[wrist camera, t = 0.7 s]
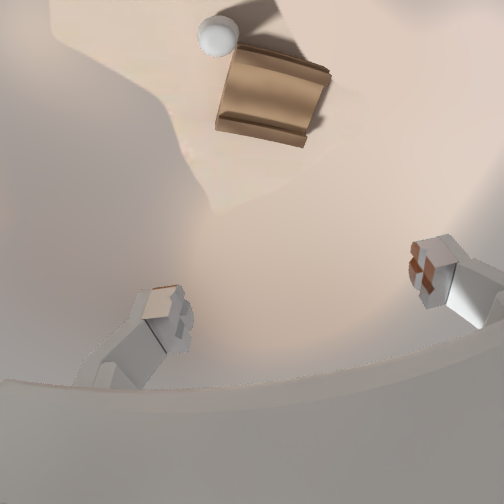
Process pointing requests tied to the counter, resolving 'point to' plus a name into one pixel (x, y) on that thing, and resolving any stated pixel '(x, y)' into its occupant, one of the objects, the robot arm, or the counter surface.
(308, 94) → the display stand
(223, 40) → the salt shaker
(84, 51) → the counter surface
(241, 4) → the counter surface
